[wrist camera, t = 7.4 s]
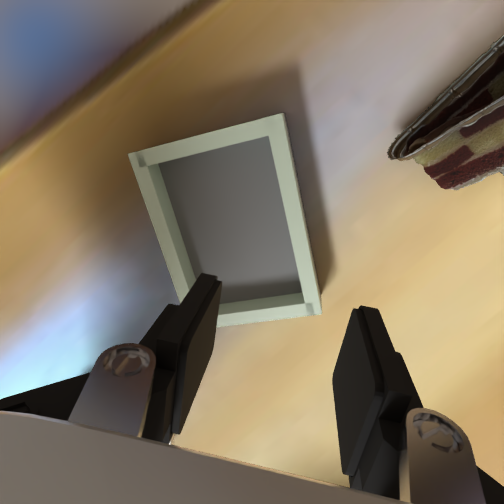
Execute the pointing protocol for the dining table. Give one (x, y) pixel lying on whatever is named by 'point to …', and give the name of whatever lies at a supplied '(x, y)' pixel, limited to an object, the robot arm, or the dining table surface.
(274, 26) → the dining table surface
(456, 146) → the cake slice
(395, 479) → the robot arm
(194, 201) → the serving tray
